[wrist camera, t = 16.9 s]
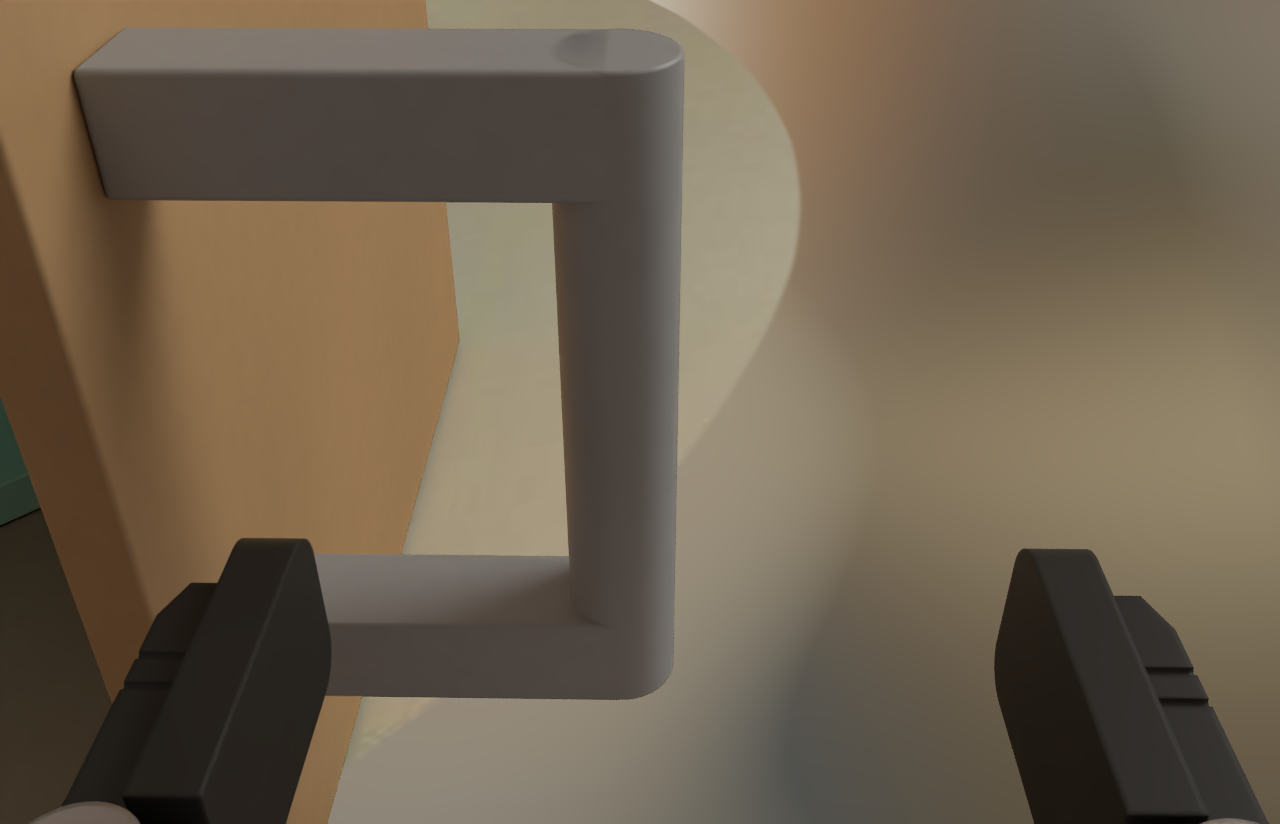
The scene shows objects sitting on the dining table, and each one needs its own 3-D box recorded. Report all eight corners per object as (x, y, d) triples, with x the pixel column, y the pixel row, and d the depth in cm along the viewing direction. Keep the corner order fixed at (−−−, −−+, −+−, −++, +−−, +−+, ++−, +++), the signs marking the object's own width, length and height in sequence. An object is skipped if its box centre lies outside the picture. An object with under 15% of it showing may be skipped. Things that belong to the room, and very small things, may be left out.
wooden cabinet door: (669, 342, 39) (680, -512, 27) (668, 1018, 21) (704, -702, 8) (429, 340, 40) (329, -511, 27) (220, 1010, 21) (-402, -694, 9)
